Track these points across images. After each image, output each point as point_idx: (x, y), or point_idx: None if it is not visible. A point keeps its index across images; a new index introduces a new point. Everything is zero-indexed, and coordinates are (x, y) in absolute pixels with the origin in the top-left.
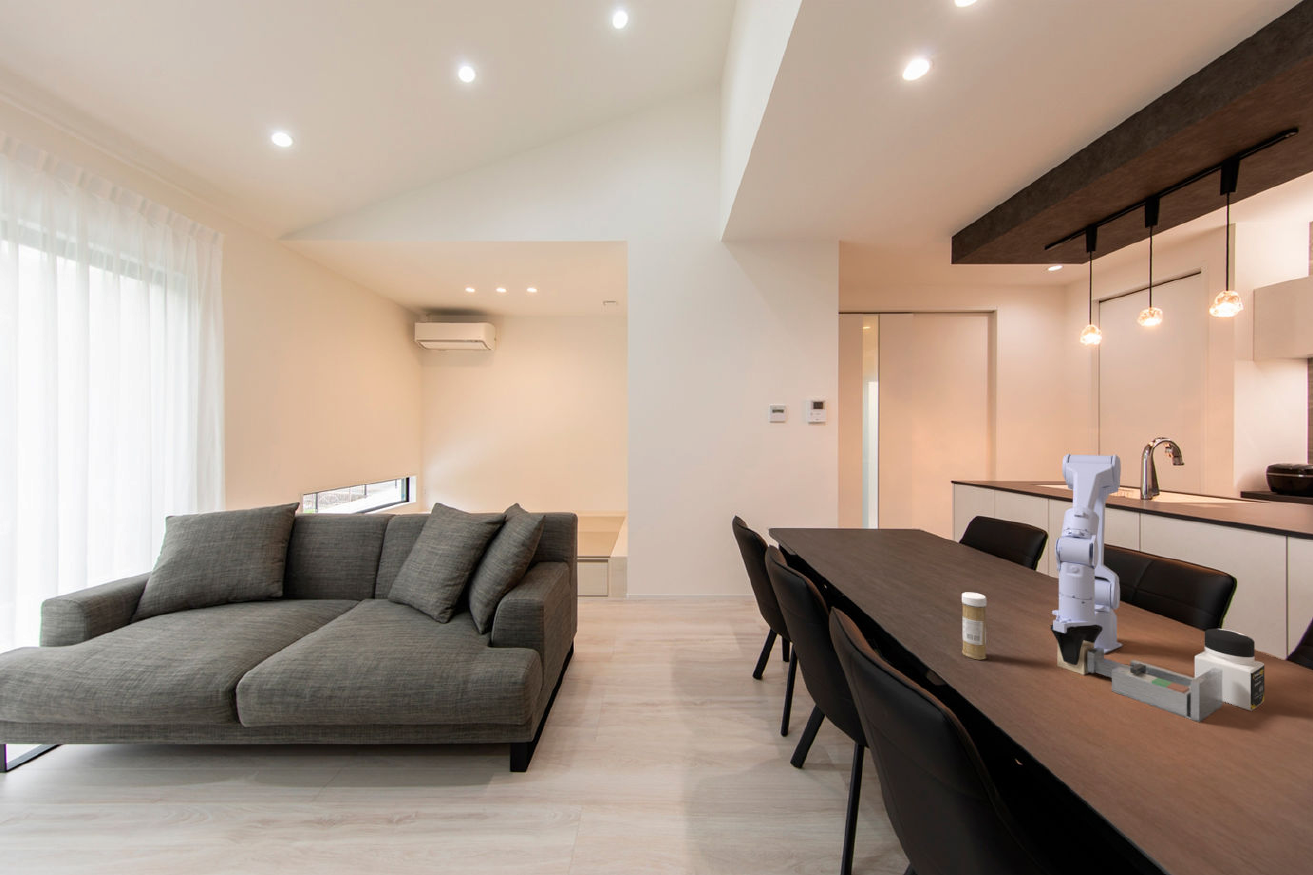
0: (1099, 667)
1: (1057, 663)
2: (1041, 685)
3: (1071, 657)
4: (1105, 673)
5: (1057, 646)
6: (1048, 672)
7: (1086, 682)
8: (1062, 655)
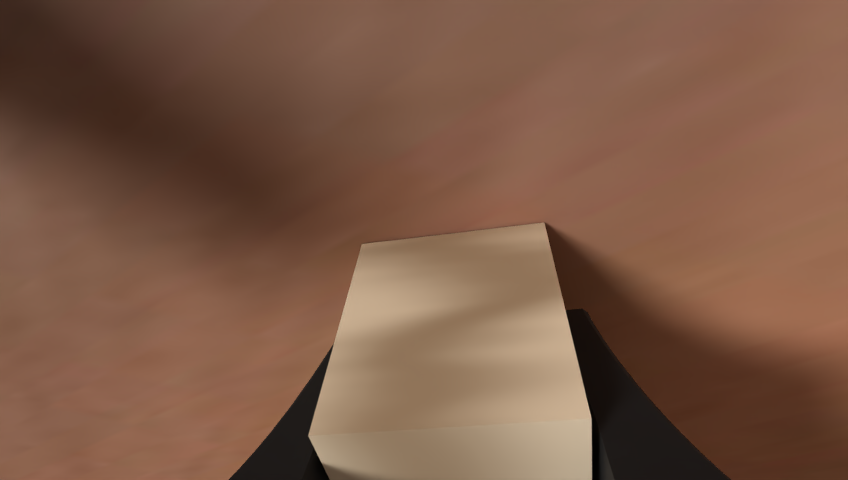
0: None
1: (361, 253)
2: (4, 359)
3: None
4: None
5: (330, 365)
6: (188, 284)
7: None
8: (320, 364)
